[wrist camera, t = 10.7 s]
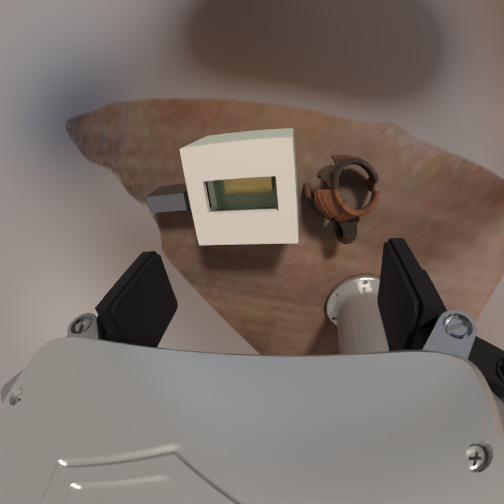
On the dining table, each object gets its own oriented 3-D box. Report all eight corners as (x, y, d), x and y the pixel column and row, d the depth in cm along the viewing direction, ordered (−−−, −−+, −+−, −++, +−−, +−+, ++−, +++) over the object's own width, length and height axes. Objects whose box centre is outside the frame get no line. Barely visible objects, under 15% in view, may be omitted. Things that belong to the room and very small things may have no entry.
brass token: (275, 180, 38) (272, 192, 33) (233, 183, 39) (225, 194, 35) (274, 163, 36) (270, 172, 32) (231, 166, 38) (222, 176, 33)
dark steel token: (198, 197, 42) (186, 210, 37) (164, 200, 43) (150, 213, 38) (195, 182, 40) (183, 193, 36) (160, 186, 41) (146, 197, 37)
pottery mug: (291, 165, 37) (318, 157, 29) (346, 155, 39) (379, 147, 31) (311, 246, 40) (339, 257, 32) (362, 229, 42) (395, 235, 34)
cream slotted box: (298, 209, 40) (298, 243, 32) (219, 213, 42) (199, 245, 34) (293, 128, 34) (292, 137, 26) (207, 136, 36) (179, 149, 28)
